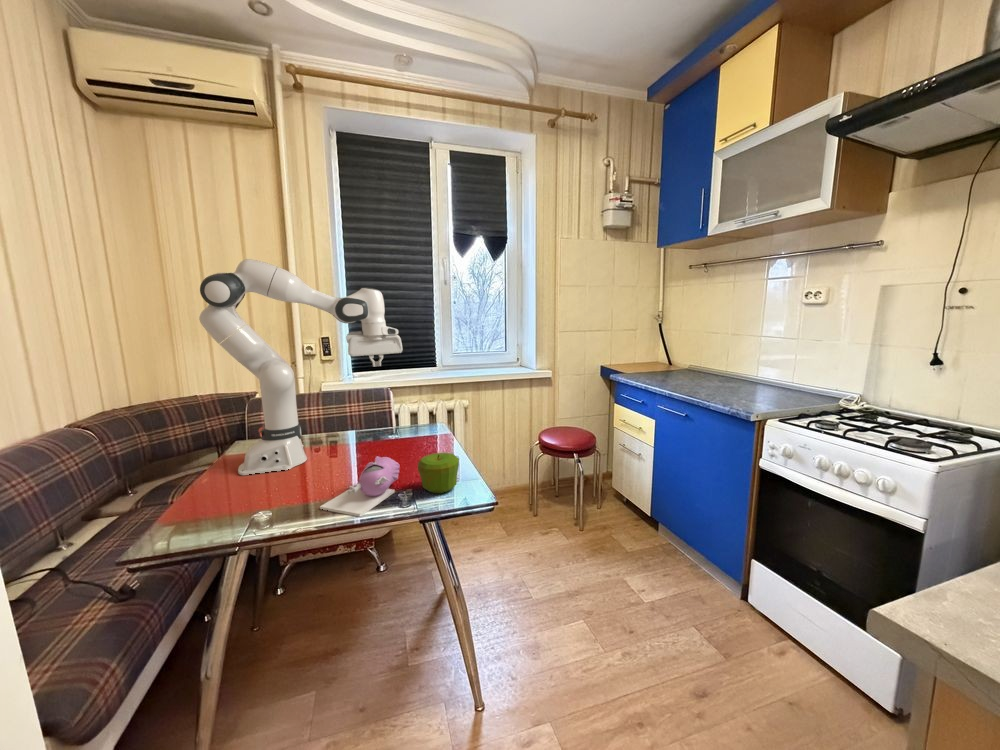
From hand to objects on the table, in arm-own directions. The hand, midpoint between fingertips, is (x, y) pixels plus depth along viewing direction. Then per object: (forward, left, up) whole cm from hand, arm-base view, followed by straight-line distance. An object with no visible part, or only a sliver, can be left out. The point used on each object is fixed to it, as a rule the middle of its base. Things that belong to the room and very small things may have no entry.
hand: (377, 366), depth 161 cm
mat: (-16, -42, -34) cm, 57 cm away
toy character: (-6, -32, -30) cm, 44 cm away
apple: (+8, -47, -34) cm, 59 cm away
